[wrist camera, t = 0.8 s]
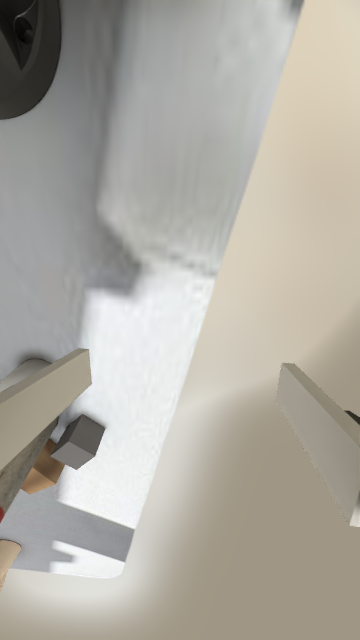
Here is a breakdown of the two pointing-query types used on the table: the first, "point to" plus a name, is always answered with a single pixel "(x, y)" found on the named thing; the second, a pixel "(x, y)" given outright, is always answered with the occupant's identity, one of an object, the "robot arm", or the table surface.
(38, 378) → the robot arm
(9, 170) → the table surface
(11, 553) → the water bottle
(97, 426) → the charcoal rubber cube
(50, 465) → the walnut block
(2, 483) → the red-banded paper cylinder
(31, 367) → the white rounded cylinder
